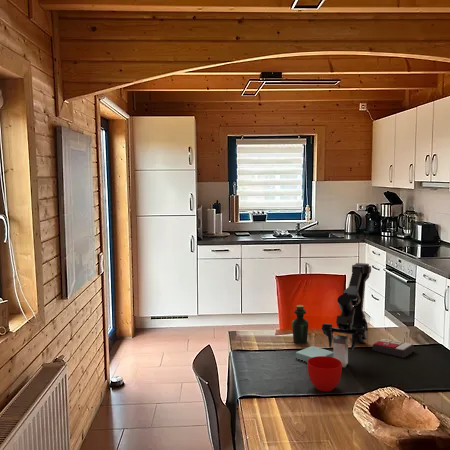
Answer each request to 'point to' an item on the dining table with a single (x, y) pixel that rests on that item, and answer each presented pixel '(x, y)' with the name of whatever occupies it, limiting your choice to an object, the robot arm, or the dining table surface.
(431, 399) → the dining table surface
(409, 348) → the red grey flat block
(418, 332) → the dining table surface
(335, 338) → the housing
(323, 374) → the ceramic cup
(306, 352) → the stand
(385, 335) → the dining table surface
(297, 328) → the potion bottle
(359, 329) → the robot arm
